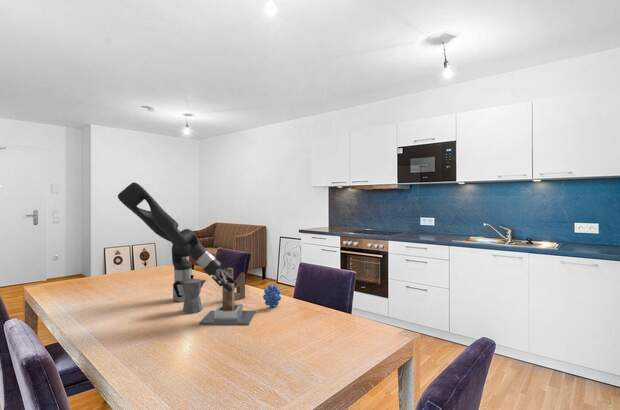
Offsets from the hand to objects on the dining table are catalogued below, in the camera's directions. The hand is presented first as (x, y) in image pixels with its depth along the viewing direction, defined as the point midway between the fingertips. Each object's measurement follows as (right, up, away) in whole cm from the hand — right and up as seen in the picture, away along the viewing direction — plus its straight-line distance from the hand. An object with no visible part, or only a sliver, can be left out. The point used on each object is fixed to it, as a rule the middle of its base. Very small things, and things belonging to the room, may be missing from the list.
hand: (233, 287), depth 159 cm
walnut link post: (-2, -13, 0) cm, 14 cm away
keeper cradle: (-2, -14, 0) cm, 15 cm away
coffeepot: (-24, -14, +11) cm, 30 cm away
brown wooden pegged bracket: (-6, -14, +30) cm, 33 cm away
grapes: (+17, -14, +15) cm, 27 cm away
